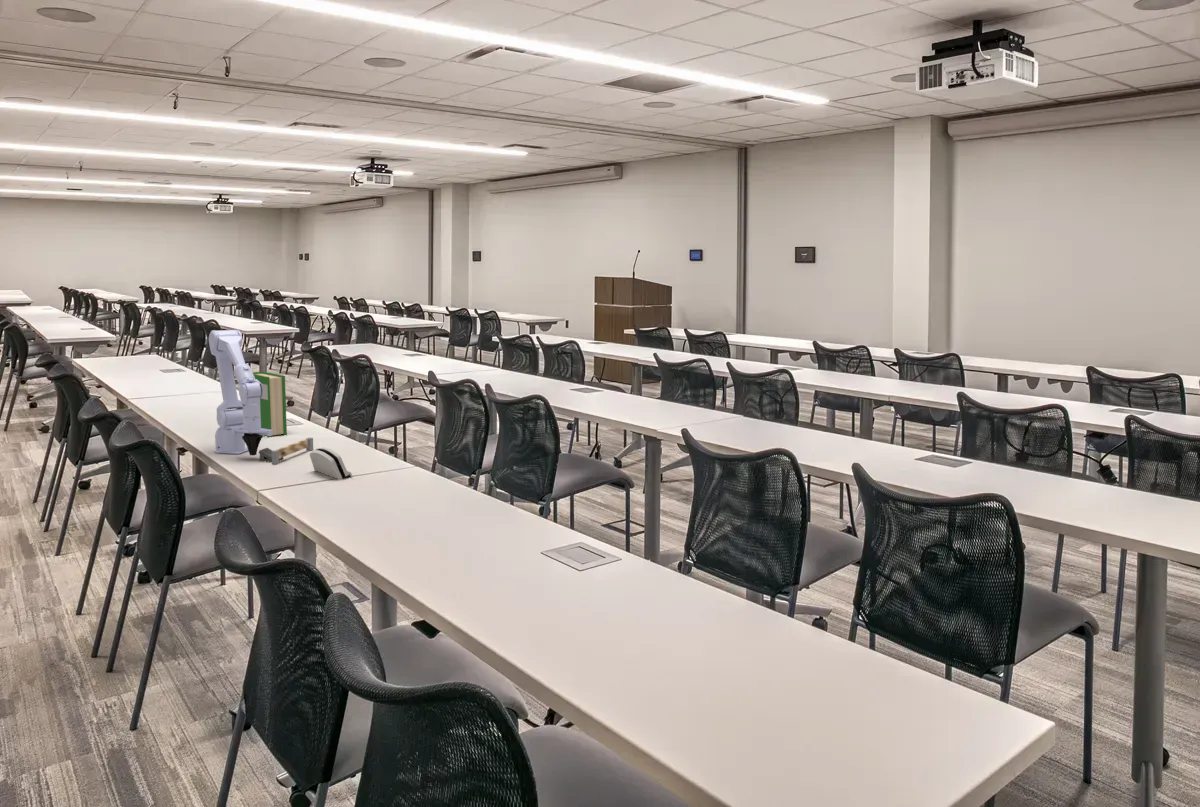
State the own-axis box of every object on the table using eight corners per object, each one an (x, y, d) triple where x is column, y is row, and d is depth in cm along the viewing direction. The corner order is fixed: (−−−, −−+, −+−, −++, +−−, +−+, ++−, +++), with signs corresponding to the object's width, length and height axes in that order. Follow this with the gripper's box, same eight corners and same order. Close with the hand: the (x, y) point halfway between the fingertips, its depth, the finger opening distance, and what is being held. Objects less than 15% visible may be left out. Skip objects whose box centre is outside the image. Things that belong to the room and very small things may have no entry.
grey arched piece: (353, 477, 278) (343, 450, 274) (340, 484, 275) (330, 456, 271) (328, 468, 290) (318, 442, 286) (315, 474, 287) (305, 448, 283)
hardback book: (286, 435, 343) (284, 375, 339) (269, 437, 338) (267, 377, 334) (265, 429, 355) (263, 371, 351) (248, 431, 349) (245, 372, 346)
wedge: (283, 459, 301) (283, 448, 300) (275, 462, 296) (275, 451, 295) (266, 458, 302) (266, 447, 301) (258, 461, 297) (258, 450, 296)
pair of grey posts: (272, 464, 293) (271, 451, 292) (309, 449, 318) (309, 437, 317) (276, 464, 293) (275, 451, 292) (313, 449, 318) (313, 437, 317)
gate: (306, 446, 315) (305, 438, 314) (310, 447, 315) (310, 439, 314) (275, 458, 295) (275, 450, 294) (280, 458, 295) (280, 450, 294)
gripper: (225, 417, 295) (227, 455, 297) (264, 419, 293) (265, 458, 295) (237, 414, 302) (239, 451, 304) (275, 416, 300) (276, 454, 302)
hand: (253, 454), depth 300 cm, fingers closed
